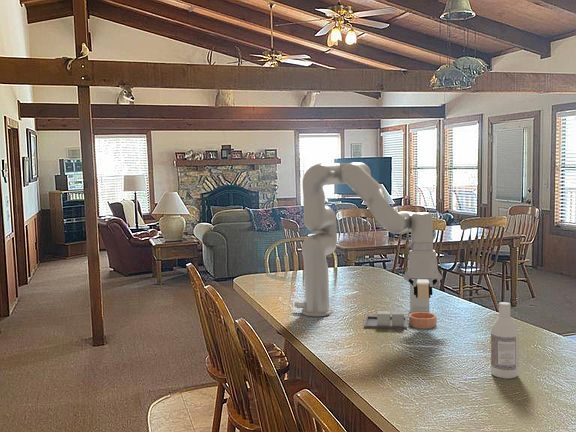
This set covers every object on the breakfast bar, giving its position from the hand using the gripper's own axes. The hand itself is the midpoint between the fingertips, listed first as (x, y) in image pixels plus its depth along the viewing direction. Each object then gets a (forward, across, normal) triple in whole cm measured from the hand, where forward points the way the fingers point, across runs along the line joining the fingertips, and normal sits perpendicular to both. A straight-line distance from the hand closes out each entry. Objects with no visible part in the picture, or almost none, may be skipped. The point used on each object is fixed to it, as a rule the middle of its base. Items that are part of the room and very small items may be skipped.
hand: (423, 296), depth 201 cm
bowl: (+11, 0, 0) cm, 11 cm away
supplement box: (+11, -1, +18) cm, 21 cm away
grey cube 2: (+10, -9, -4) cm, 14 cm away
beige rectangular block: (0, 0, 0) cm, 0 cm away
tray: (+10, -13, 0) cm, 17 cm away
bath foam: (+11, +20, -46) cm, 51 cm away
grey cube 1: (+10, -14, -4) cm, 18 cm away
